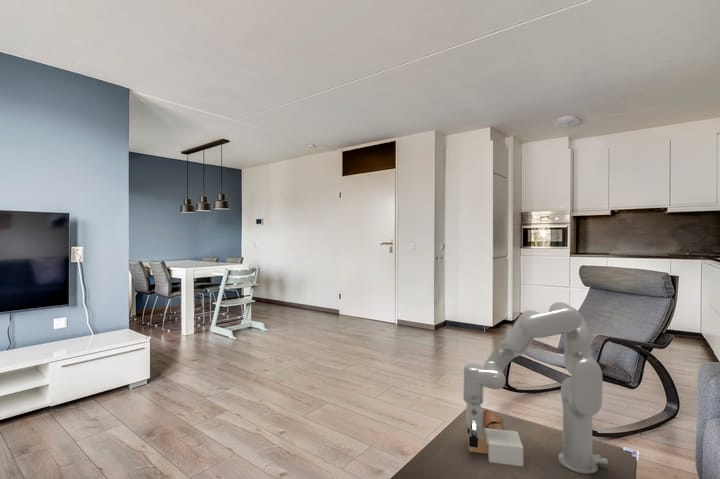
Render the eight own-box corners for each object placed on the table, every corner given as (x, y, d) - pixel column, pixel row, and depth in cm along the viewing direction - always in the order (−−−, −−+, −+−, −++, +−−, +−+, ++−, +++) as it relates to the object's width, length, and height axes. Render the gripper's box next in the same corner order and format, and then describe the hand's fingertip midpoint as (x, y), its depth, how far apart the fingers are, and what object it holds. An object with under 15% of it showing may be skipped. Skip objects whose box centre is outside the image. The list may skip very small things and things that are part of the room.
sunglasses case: (505, 436, 158) (497, 422, 159) (490, 443, 160) (482, 428, 161) (502, 417, 175) (494, 404, 176) (488, 423, 177) (481, 410, 178)
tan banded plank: (503, 453, 145) (503, 438, 145) (503, 455, 144) (503, 441, 144) (468, 449, 148) (468, 435, 148) (468, 451, 147) (468, 437, 147)
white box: (517, 448, 149) (517, 430, 149) (523, 466, 137) (523, 447, 137) (483, 444, 152) (483, 427, 152) (486, 461, 140) (486, 442, 140)
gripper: (485, 407, 138) (484, 453, 138) (481, 389, 155) (480, 430, 155) (464, 405, 140) (463, 450, 140) (462, 387, 157) (461, 428, 156)
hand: (472, 440), depth 147 cm, fingers open, 9 cm apart
